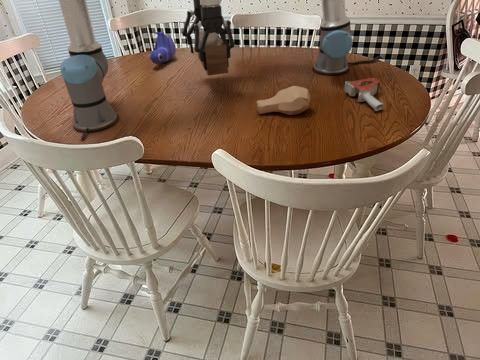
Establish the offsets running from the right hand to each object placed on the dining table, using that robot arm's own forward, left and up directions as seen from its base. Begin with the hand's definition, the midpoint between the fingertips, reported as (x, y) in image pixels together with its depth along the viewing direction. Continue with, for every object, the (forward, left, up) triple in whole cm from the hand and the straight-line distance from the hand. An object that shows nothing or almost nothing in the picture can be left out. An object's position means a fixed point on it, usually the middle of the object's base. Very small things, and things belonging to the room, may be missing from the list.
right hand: (207, 50), depth 155 cm
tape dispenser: (-59, +35, -13) cm, 70 cm away
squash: (-26, +40, -13) cm, 49 cm away
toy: (+24, -30, -13) cm, 41 cm away
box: (-2, +9, -3) cm, 10 cm away
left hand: (-3, +18, -2) cm, 19 cm away
